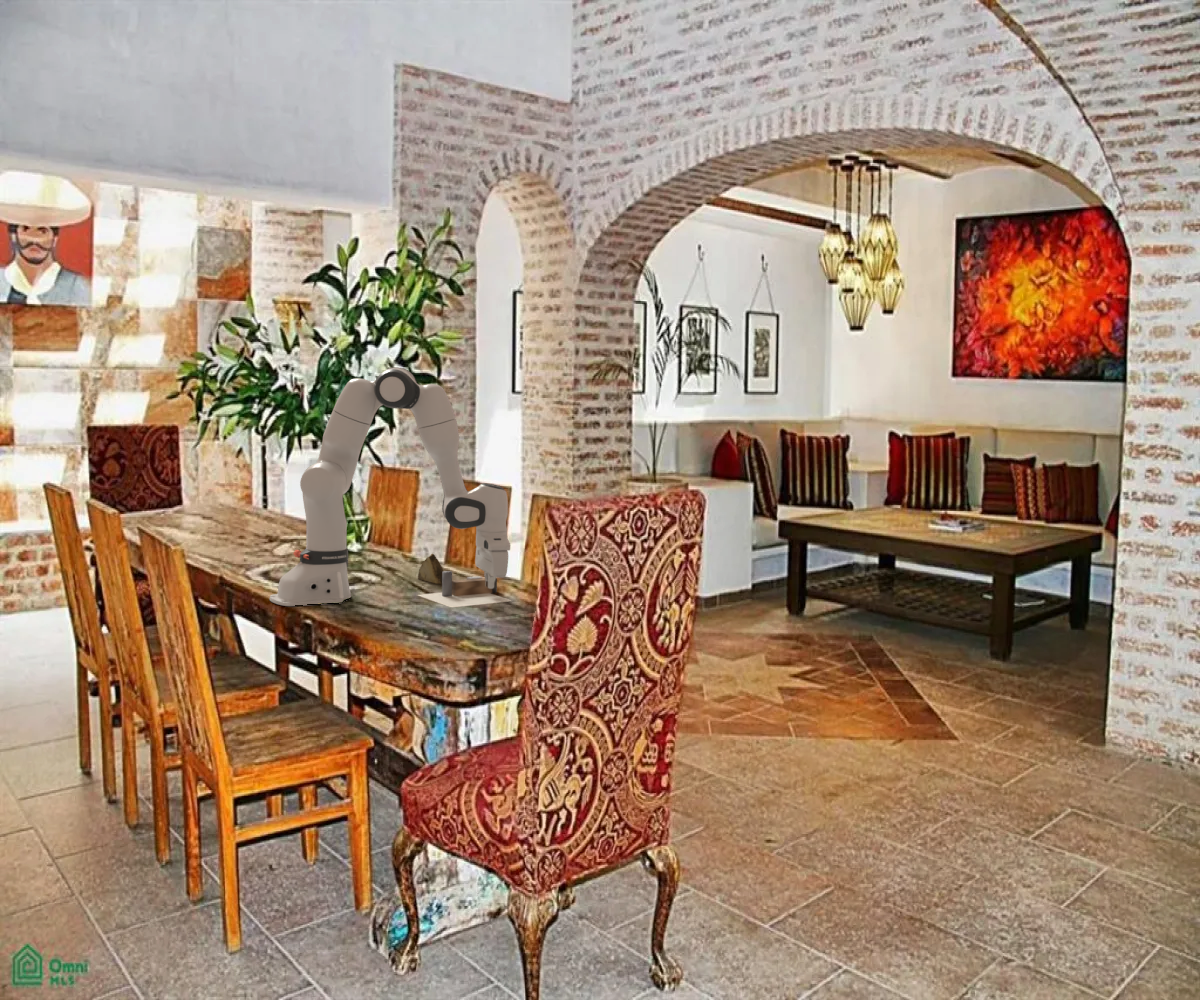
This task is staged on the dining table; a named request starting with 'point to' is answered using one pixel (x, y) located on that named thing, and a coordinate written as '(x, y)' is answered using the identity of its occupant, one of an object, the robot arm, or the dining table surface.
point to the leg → (471, 587)
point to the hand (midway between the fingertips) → (489, 587)
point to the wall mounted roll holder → (459, 601)
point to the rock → (431, 570)
